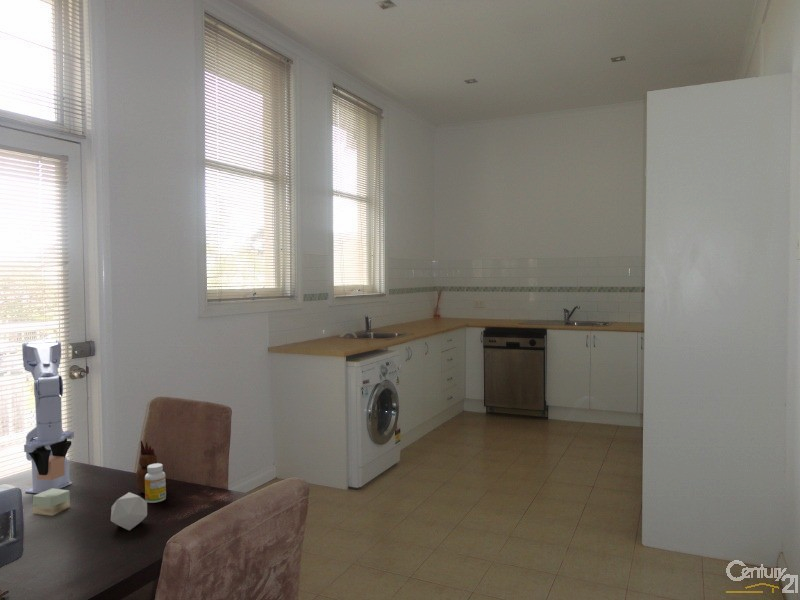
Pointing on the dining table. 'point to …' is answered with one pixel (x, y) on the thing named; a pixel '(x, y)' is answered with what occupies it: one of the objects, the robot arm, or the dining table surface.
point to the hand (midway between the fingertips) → (50, 471)
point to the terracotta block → (54, 468)
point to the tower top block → (51, 497)
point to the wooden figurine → (144, 465)
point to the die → (129, 511)
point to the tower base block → (51, 509)
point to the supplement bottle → (155, 483)
